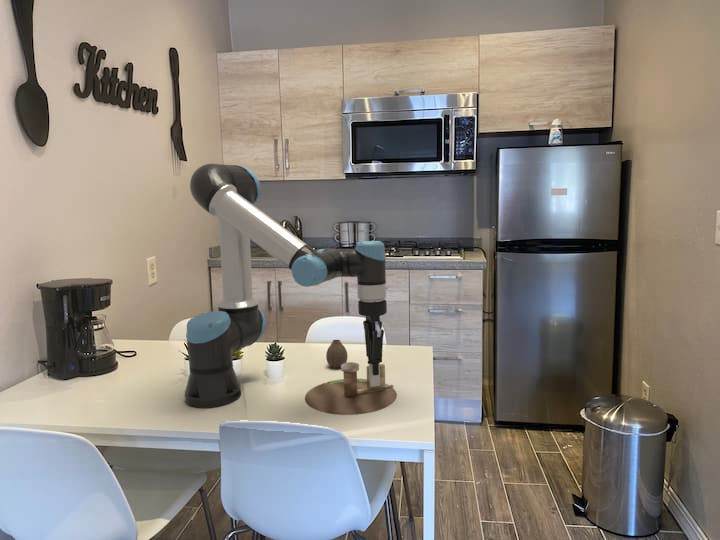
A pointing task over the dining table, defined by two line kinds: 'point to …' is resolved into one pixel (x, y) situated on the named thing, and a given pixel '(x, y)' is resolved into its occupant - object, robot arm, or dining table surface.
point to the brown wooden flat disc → (348, 398)
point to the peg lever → (351, 380)
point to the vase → (336, 354)
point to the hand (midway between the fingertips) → (374, 385)
